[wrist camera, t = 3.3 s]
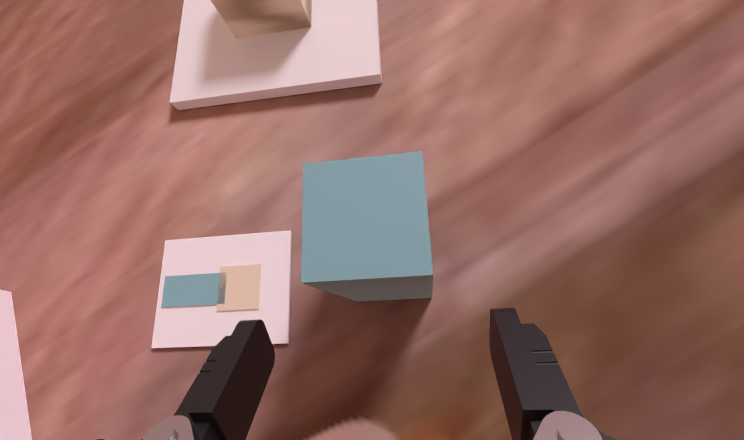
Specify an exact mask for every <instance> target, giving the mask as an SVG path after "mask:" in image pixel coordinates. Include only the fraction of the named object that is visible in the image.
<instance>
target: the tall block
mask: <svg viewBox="0 0 744 440" xmlns="http://www.w3.org/2000/svg"><path fill="white" fill-rule="evenodd" d="M301 283H304V284H306V285H309V286H312V287H315V288H318V289H321V290H324V291H327V292H330V293H333V294H336V295H339V296H342V297H345V298H348V299H351V300H353V301H356V302H361V301H381V300H401V299H421V298H432V286H433V269H432V257H431V245H430V234H429V222H428V211H427V199H426V188H425V176H424V165H423V153H422V151H419V152H409V153H400V154H390V155H381V156H371V157H362V158H352V159H343V160H333V161H324V162H314V163H305V164H303V210H302V265H301Z"/></svg>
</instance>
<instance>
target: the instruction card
mask: <svg viewBox="0 0 744 440" xmlns="http://www.w3.org/2000/svg"><path fill="white" fill-rule="evenodd" d="M291 239H292V231H291V230H290V231H278V232H265V233H253V234H240V235H227V236H215V237H202V238H190V239H177V240H165V247H164V255H163V263H162V271H161V278H160V286H159V294H158V301H157V309H156V317H155V324H154V332H153V340H152V348H171V347H199V346H216V345H217V344H218V343H219V342H220V341H221V340H222V339H223V338H224V337H225V336H231V334H232V333H233V331H234V329H235V327H236V325H237V324H238V322H239V321H241V320H262V321H263V322H264V324H265V326H266V329H267V332H268V334H269V337H270V340H271V342H272V344H284V343H289V314H290V277H291Z"/></svg>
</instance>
